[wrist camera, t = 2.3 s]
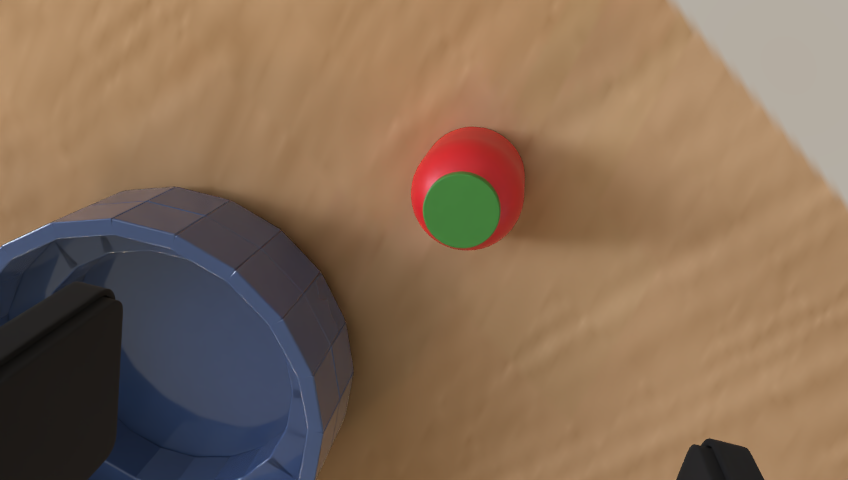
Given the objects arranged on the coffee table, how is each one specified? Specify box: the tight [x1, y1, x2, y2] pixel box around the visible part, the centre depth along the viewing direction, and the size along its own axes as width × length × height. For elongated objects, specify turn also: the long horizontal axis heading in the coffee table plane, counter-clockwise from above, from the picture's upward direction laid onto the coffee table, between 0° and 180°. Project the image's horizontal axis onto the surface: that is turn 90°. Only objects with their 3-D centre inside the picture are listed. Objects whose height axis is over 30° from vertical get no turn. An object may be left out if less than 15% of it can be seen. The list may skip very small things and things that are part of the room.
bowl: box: [0, 187, 354, 480], centre depth 27 cm, size 14×14×5 cm
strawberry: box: [411, 127, 525, 250], centre depth 23 cm, size 4×4×5 cm
